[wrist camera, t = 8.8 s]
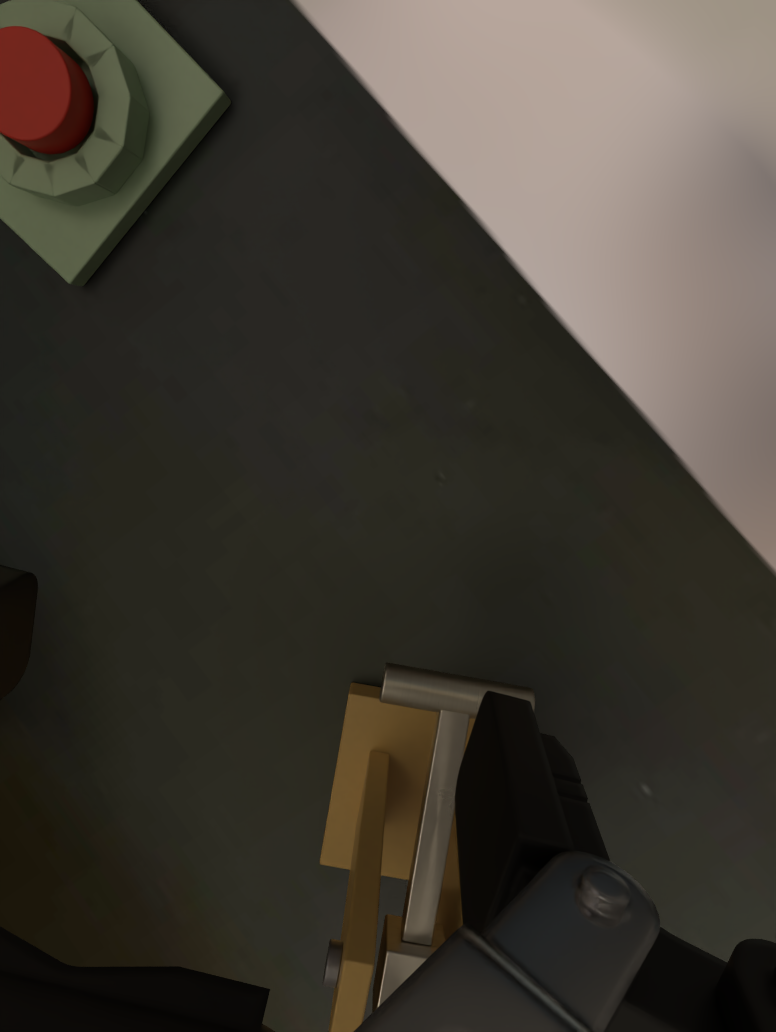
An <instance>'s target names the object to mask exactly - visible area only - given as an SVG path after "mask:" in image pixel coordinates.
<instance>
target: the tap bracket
mask: <svg viewBox="0 0 776 1032" xmlns="http://www.w3.org/2000/svg"><path fill="white" fill-rule="evenodd" d="M380 689H381V687H375V686H369V685H364V684H358V683H351V685H350V690H349V695H348V700H347V706H346V712H345V718H344V724H343V729H342V735H341V741H340V747H339V753H338V758H337V764H336V770H335V776H334V782H333V787H332V793H331V799H330V805H329V811H328V816H327V822H326V828H325V834H324V840H323V845H322V851H321V857H320V864H321V865H327V866H332V867H338V868H343V869H349V870H350V874H349V882H348V889H347V897H346V904H345V912H344V919H343V927H342V934H341V941H340V940H334V939H330V942H329V947H328V953H327V959H326V965H325V971H324V977H323V986H326V987H332V988H334V994H333V1002H332V1009H331V1017H330V1024H329V1032H353V1031H355V1030H356V1029H357V1028H358V1027H359V1026H360V1025H361V1024H362V1023H363V1018H364V1013H365V1009H366V1004H367V999H368V994H369V989H370V984H371V980H372V975H373V970H374V963H375V949H376V936H377V922H378V908H379V894H380V881H381V875H383V876H388V877H394V878H400V879H405V880H409V874H410V868H411V862H412V856H413V850H414V844H415V838H416V832H417V826H418V821H419V815H420V809H421V803H422V797H423V791H424V785H425V779H426V773H427V767H428V761H429V755H430V749H431V743H432V737H433V731H434V725H435V719H436V713H437V712H432V711H426V710H421V709H415V708H409V707H404V706H398V705H392V704H387V703H381V702H380V701H379V696H380ZM474 722H475V719H471V718H470V719H469V725H468V731H467V737H466V743H465V749H464V753H465V750H466V747H467V744H468V741H469V738H470V734H471V731H472V728H473V725H474ZM463 756H464V755H463ZM436 923H439V924H442V925H443V929H444V935H445V941H446V940H447V939H448V938H449V937H450V936H451V935H452V934H453V933H454V932H455V931H456V930H457V929H458V928H460V927H461V926H462V925H463V919H462V904H461V890H460V875H459V860H458V845H457V830H456V815H455V810H454V816H453V822H452V828H451V834H450V840H449V847H448V853H447V859H446V865H445V871H444V877H443V883H442V889H441V895H440V901H439V907H438V913H437V919H436Z"/></svg>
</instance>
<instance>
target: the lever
mask: <svg viewBox="0 0 776 1032" xmlns="http://www.w3.org/2000/svg"><path fill="white" fill-rule="evenodd" d="M487 691H493V692H497V693H501V694H505V695H509V696H512V697H516V698H520V699H524V700H528V701H530V702H531V705H532V708H533V711H534V710H535V695H534V691H533V689H531V688H529V687H523V686H517V685H512V684H506V683H500V682H495V681H489V680H483V679H478V678H472V677H467V676H461V675H455V674H450V673H444V672H438V671H433V670H427V669H421V668H416V667H410V666H405V665H399V664H393V663H386V664H385V667H384V672H383V677H382V683H381V689H380V696H379V701H380V702H381V703H387V704H392V705H398V706H404V707H409V708H415V709H421V710H426V711H432V712H437V713H436V719H435V725H434V731H433V737H432V743H431V749H430V755H429V761H428V767H427V773H426V779H425V785H424V791H423V797H422V803H421V809H420V815H419V821H418V826H417V832H416V838H415V844H414V850H413V856H412V862H411V868H410V874H409V880H408V886H407V892H406V898H405V904H404V910H403V916H402V917H400V916H394V915H388V914H387V915H386V916H385V920H384V926H383V932H382V938H381V944H380V950H379V956H378V962H377V968H376V973H375V979H374V985H373V1005H372V1013H373V1012H374V1011H375V1010H376V1009H377V1008H378V1007H379V1006H380V1005H381V1004H382V1003H383V1002H384V1001H385V1000H386V999H387V998H388V997H389V996H390V995H391V994H392V993H393V992H394V991H395V990H396V989H397V988H398V987H399V986H400V985H401V984H402V983H403V982H404V981H405V980H406V979H407V978H408V977H409V976H410V975H411V974H412V973H413V972H414V971H415V970H416V969H417V968H418V967H419V966H420V965H421V964H422V963H423V962H424V961H425V960H426V959H427V958H428V957H429V956H430V955H432V954H433V953H434V952H435V951H436V950H437V949H438V948H439V947H440V946H441V945H442V944H443V943H444V942H445V935H444V929H443V925H442V924H439V923H436V919H437V913H438V907H439V901H440V895H441V889H442V883H443V877H444V871H445V865H446V859H447V853H448V847H449V840H450V834H451V828H452V822H453V816H454V810H455V790H456V783H457V777H458V773H459V769H460V765H461V762H462V759H463V755H464V749H465V743H466V737H467V731H468V725H469V719H470V718H471V719H476V716H477V713H478V710H479V707H480V704H481V701H482V699H483V696H484V695H485V693H486V692H487Z"/></svg>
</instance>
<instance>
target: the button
mask: <svg viewBox="0 0 776 1032" xmlns="http://www.w3.org/2000/svg"><path fill="white" fill-rule="evenodd" d="M93 114H94V100H93V94H92V90H91V86H90V84H89V81H88V79H87V77H86V75H85V73H84V72H83V71H82V69H81V68H80V66H79V65H78V64H77V63H76V62H75V61H74V60H73V59H72V58H71V57H69V56H68V55H67V54H66V53H65V52H64V51H62V50H61V49H60V48H59V47H58V46H56V45H55V44H54V43H53V42H52V41H51V40H49V39H48V38H47V37H46V36H44V35H43V34H41V33H39V32H38V31H36V30H33V29H30V28H27V27H22V26H9V27H4V28H1V29H0V133H2V134H3V135H5V136H7V137H9V138H11V139H13V140H15V141H17V142H19V143H21V144H22V145H24V146H26V147H28V148H30V149H32V150H34V151H37V152H40V153H44V154H60V153H64V152H67V151H69V150H71V149H73V148H74V147H76V146H77V145H78V144H79V143H80V142H81V141H82V140H83V139H84V138H85V136H86V135H87V133H88V131H89V129H90V126H91V123H92V120H93Z"/></svg>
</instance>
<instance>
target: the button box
mask: <svg viewBox="0 0 776 1032" xmlns="http://www.w3.org/2000/svg"><path fill="white" fill-rule="evenodd" d="M9 26H22V27H27V28H30V29H33V30H36V31H38V32H39V33H41V34H43V35H44V36H46V37H47V38H48V39H49V40H51V41H52V42H53V43H54V44H55V45H56V46H58V47H59V48H60V49H61V50H62V51H64V52H65V53H66V54H67V55H68V56H69V57H71V58H72V59H73V60H74V61H75V62H76V63H77V64H78V65H79V66H80V68H81V69H82V71H83V72H84V73H85V75H86V77H87V79H88V81H89V84H90V86H91V90H92V94H93V100H94V114H93V120H92V123H91V126H90V129H89V131H88V133H87V135H86V136H85V138H84V139H83V140H82V141H81V142H80V143H79V144H78V145H77V146H76V147H74V148H73V149H71V150H69V151H67V152H64V153H60V154H44V153H40V152H37V151H34V150H32V149H30V148H28V147H26V146H24V145H22V144H21V143H19V142H17V141H15V140H13V139H11V138H9V137H7V136H5V135H3V134H2V133H0V218H1V219H2V220H3V221H4V222H5V223H6V224H7V225H8V226H9V227H10V228H11V229H12V230H13V231H14V232H15V233H16V234H17V235H18V236H20V237H21V238H22V239H23V240H24V241H25V242H26V243H27V244H28V245H29V246H30V247H31V248H32V249H33V250H34V251H35V252H36V253H37V254H38V255H39V256H41V257H42V258H43V259H44V260H45V261H46V262H47V263H48V264H49V265H50V266H51V267H52V268H53V269H54V270H55V271H56V272H57V273H58V274H59V275H61V276H62V277H63V278H64V279H65V280H66V281H67V282H68V283H69V284H73V285H78V286H84V285H85V283H86V282H87V281H88V280H89V278H90V277H91V276H92V275H93V274H94V272H95V271H96V270H97V269H98V267H99V266H100V265H101V264H102V262H103V261H104V260H105V259H106V257H107V256H108V255H109V254H110V253H111V251H112V250H113V249H114V248H115V246H116V245H117V244H118V243H119V241H120V240H121V239H122V238H123V236H124V235H125V234H126V233H127V231H128V230H129V229H130V228H131V227H132V225H133V224H134V223H135V222H136V220H137V219H138V218H139V217H140V215H141V214H142V213H143V212H144V210H145V209H146V208H147V207H148V206H149V204H150V203H151V202H152V201H153V199H154V198H155V197H156V196H157V194H158V193H159V192H160V191H161V189H162V188H163V187H164V186H165V184H166V183H167V182H168V181H169V180H170V178H171V177H172V176H173V175H174V173H175V172H176V171H177V170H178V168H179V167H180V166H181V165H182V163H183V162H184V161H185V160H186V159H187V157H188V156H189V155H190V154H191V152H192V151H193V150H194V149H195V147H196V146H197V145H198V144H199V142H200V141H201V140H202V139H203V137H204V136H205V135H206V134H207V133H208V131H209V130H210V129H211V128H212V126H213V125H214V124H215V123H216V121H217V120H218V119H219V118H220V116H221V115H222V114H223V113H224V112H225V110H226V109H227V108H228V107H229V105H230V104H231V100H230V99H229V98H228V96H227V95H226V94H225V92H224V91H223V90H222V89H221V88H220V87H219V86H218V85H217V84H216V83H215V82H214V80H213V79H212V78H211V77H210V76H209V75H208V74H207V73H206V72H205V71H204V70H203V69H202V68H201V67H200V66H199V65H198V64H197V63H196V62H195V61H194V60H193V58H192V57H191V56H190V55H189V54H188V53H187V52H186V51H185V50H184V49H183V48H182V47H181V46H180V45H179V44H178V43H177V42H176V41H175V40H174V39H173V38H172V37H171V35H170V34H169V33H168V32H167V31H166V30H165V29H164V28H163V27H162V26H161V25H160V24H159V23H158V22H157V21H156V20H155V19H154V18H153V17H152V16H151V15H150V13H149V12H148V11H147V10H146V9H145V8H144V7H143V6H142V5H141V4H140V3H139V2H138V1H137V0H11V1H8V2H6V3H3V4H0V29H1V28H4V27H9Z"/></svg>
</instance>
